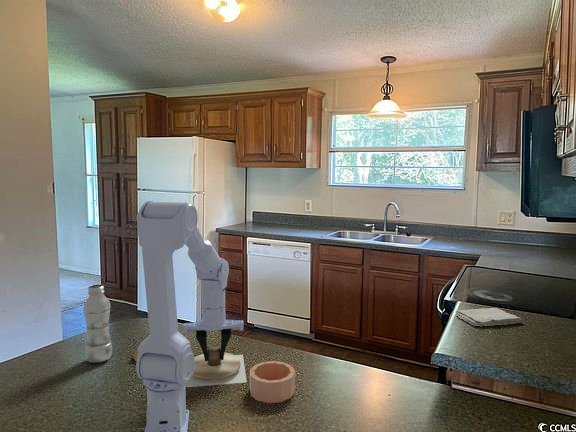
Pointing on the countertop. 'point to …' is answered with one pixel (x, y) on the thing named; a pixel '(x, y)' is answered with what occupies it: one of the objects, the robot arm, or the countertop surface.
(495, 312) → the washcloth
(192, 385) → the mat
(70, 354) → the countertop surface
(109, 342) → the plastic bottle
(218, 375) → the lid
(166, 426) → the robot arm
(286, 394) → the bowl
